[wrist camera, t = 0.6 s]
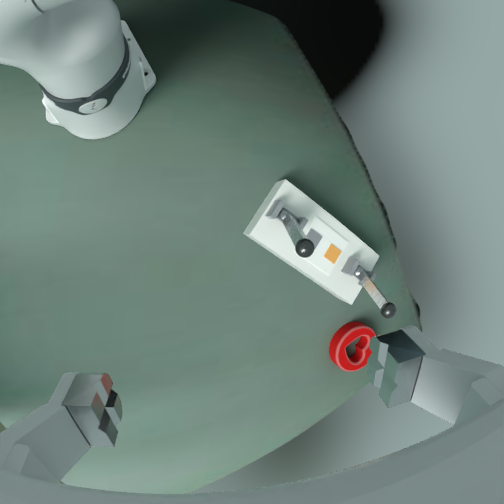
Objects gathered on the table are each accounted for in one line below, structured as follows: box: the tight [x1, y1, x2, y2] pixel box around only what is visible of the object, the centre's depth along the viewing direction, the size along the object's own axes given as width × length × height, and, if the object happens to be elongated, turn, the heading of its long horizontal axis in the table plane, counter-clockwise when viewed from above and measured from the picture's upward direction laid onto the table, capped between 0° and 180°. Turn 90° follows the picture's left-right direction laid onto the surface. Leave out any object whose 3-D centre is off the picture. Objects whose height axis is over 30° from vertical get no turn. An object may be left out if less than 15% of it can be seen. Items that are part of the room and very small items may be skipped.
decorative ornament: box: [329, 322, 376, 371], centre depth 57 cm, size 10×10×3 cm
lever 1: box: [276, 207, 314, 258], centre depth 41 cm, size 3×2×13 cm
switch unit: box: [243, 179, 379, 305], centre depth 50 cm, size 22×10×6 cm, turn 56°
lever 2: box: [353, 265, 396, 318], centre depth 45 cm, size 3×2×13 cm
